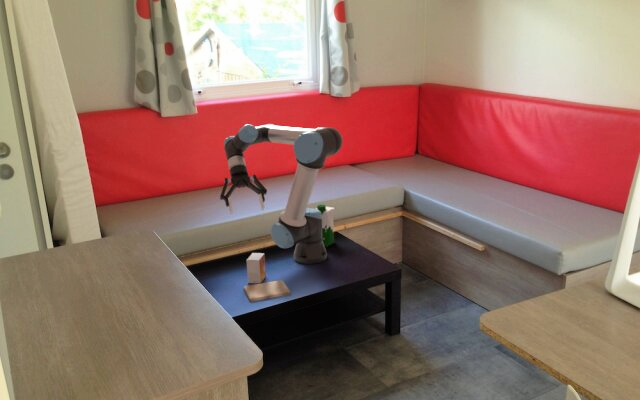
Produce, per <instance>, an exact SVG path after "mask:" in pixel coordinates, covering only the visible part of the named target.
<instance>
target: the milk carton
mask: <svg viewBox="0 0 640 400" xmlns="http://www.w3.org/2000/svg"><path fill="white" fill-rule="evenodd" d="M315 209H317V210H319V211H320V212H321V214H322V239H323V244H324V246H326V247H325V248H328V246H329V245H330V246H332V245H333V244H335V243H334V242H335V232H334V231H335V230H334V229H335V227H334V226H335V225H334V222H335V221H334V214H335V207H332V206H331V207H330V206H327V205H326V204H318V205H316V208H315ZM332 243H333V244H332ZM331 244H332V245H331ZM330 246H329V247H330Z"/></svg>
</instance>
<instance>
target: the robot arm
mask: <svg viewBox="0 0 640 400" xmlns="http://www.w3.org/2000/svg"><path fill="white" fill-rule="evenodd" d="M262 143H275V144H283V145H292V146H293V152H294V157H295V161H296V163H297V166H296V170H295V173H294V177H293V181H292V184H291V188H290V191H289V194H288V195H289V196H288V199H287V202H286V205H285V208H284V210H283V211H281V212H280V214H279V217H278V221H277V222H275V223H273V224H272V225H271V227H270V237H271V238H272V240H273V242H274V243H275V244H276V246H278V247H279V248H281V249H289V248H292V247H293V246H295V249H294V252H293V259H294V261H295V262H298V263H300V264H305V265H306V264H307V265H308V264H309V265H311V264H318V263H322V262H324V261H326V260H327V258H328V252H327V250H326V247H325V246H324V244H323V239H322V214H321V212H320V211H319V210H317V209H316V208H311V207H308V206H309V203H310V199H311V197H312V193H313V191H314V186H315V183H316V179H317V176H318V173H319V170H322V169H323V168H324V166H325V163H326V160H327V158H329V157H332V156H334V155H336V154H338V153H339V152H340V150H341V149H342V147H343V135H342V134H341V133H340V131H339V130H338V129H336V128H334V127H331V126H330V127H329V126H328V127H325V126H324V127H323V126H319V127H317V128H306V127H305V128H303V127H295V126H294V127H291V126H283V125H282V126H281V125H275V124H273V123H266V124H262V125H259V126H258V125H257V126H255V125H252V124H250V123H249V124H248V123H246V124H245V125H243V126H242V127H241V128H239V130H238V132H237V133H236V134H235V135H230V136H228V137H226V138H225V139H224V141H223V147H224V151H225V156H226V161H227V165H228V170H229V174H230V178H228V177H225V178H224V185H223V187H222V190H221V193H220V196H219V199H220V200H222V201H223V200H224V201H223V202H225V206H226V207H228V210H229V213H230V215H231V214H233V206H232V201H231V196H232V194H233V193H234V191H235V190H236V188H238V189H241V188H246V187H247V188H248V189H250V190H251V191H253V192H255V193H256V194H257V195H258V200H259V204H260V208H261V209H260V210H262V211H263V210H265V204H264V203H265V200H266V199H265V198H266V197H265V195H267V193H268V190H267V188H266V187H265V186H264V185H263V184H262V183H261V182H260V180H258V177H257V176H256V175H257V174H253V175H252V176H249V173H248V169H247V165H246V159H245V156H244V153H245V151H247V149H248V148H250V146H255V145H257V144H262ZM251 181H252V182H253V183H254V184H253V183H252V182H251ZM230 183H232V185H231V186H230V188H229V190H228V191H227V189H228V185H229V184H230ZM226 191H227V192H226Z"/></svg>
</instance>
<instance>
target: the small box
mask: <svg viewBox="0 0 640 400" xmlns="http://www.w3.org/2000/svg"><path fill="white" fill-rule="evenodd" d="M265 255H266V254H265V253H264V252H263V253H262V252H251V254H250V255H249V256H248V258H246V261H245V262H246V272H247V282H248V284H261V283H263V281H264V279H265V278H266V277H267V272H266V271H267V270H266V256H265Z"/></svg>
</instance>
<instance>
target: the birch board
mask: <svg viewBox="0 0 640 400" xmlns="http://www.w3.org/2000/svg"><path fill="white" fill-rule="evenodd" d="M243 290H244V292H245V294H246V296H247V298H248V300H249V302H250V303H252V302H256V301H263V300H267V299H273V298H274V299H275V298H278V297H285V296H290V295H291V291H290V289H289V287H288V285H286V283H285V282H284V280H283V279H281V280H280V279H279V280H274V281H273V280H272V281H268V282H267V281H266V282H261V284H259V283H254V284H250V285H244V286H243Z"/></svg>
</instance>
